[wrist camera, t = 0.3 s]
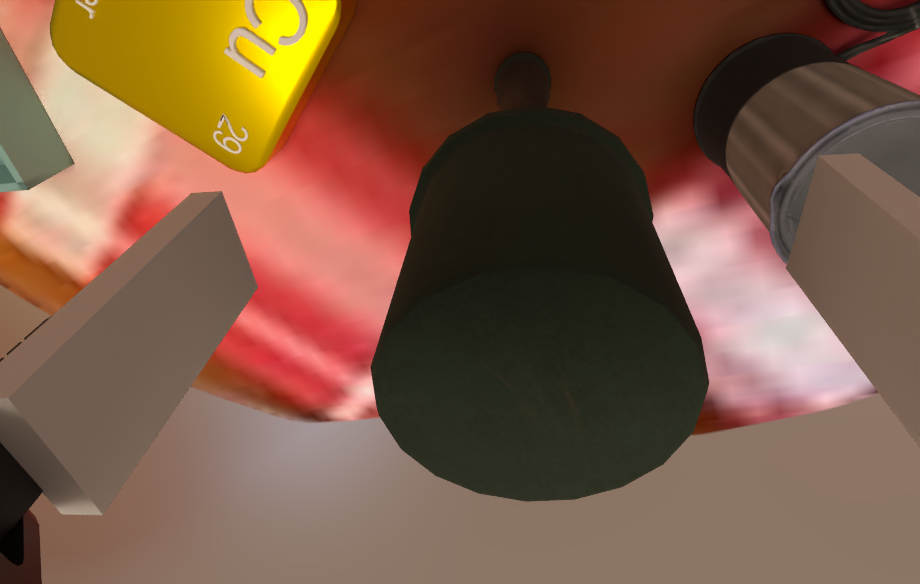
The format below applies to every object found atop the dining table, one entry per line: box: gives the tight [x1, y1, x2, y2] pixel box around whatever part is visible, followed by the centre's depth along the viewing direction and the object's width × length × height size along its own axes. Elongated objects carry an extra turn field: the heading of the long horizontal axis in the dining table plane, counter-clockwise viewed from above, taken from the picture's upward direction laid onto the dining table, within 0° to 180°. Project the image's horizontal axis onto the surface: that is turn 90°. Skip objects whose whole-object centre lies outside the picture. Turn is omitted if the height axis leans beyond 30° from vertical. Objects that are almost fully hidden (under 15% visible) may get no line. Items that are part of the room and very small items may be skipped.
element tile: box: [50, 0, 356, 173], centre depth 35 cm, size 15×15×5 cm
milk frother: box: [694, 0, 920, 264], centre depth 28 cm, size 14×16×15 cm
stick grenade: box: [371, 52, 709, 501], centre depth 25 cm, size 8×9×30 cm
